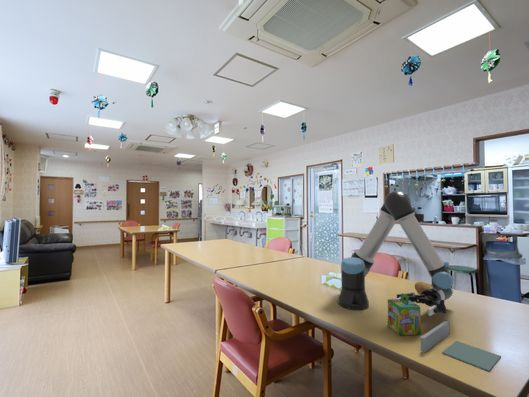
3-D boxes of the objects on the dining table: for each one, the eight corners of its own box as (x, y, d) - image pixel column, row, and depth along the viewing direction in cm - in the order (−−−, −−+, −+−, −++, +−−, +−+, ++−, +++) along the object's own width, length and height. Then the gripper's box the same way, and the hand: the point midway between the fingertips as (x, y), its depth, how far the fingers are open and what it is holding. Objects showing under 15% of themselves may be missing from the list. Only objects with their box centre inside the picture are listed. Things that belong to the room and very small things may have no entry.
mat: (442, 353, 94) (442, 352, 94) (456, 341, 101) (456, 340, 101) (489, 371, 83) (489, 370, 83) (500, 357, 91) (500, 356, 91)
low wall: (420, 351, 95) (420, 337, 95) (445, 332, 108) (445, 320, 108) (424, 352, 94) (424, 338, 94) (449, 334, 107) (448, 321, 107)
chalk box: (387, 326, 115) (386, 291, 115) (407, 324, 116) (406, 290, 116) (399, 336, 106) (399, 299, 106) (421, 335, 107) (420, 298, 107)
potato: (436, 304, 139) (436, 288, 139) (411, 296, 151) (410, 281, 151) (447, 300, 143) (446, 285, 143) (421, 293, 156) (421, 279, 156)
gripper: (464, 313, 116) (445, 327, 103) (405, 297, 136) (383, 307, 123) (463, 295, 116) (444, 307, 103) (405, 282, 136) (383, 291, 123)
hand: (411, 307), depth 113 cm, fingers open, 13 cm apart
